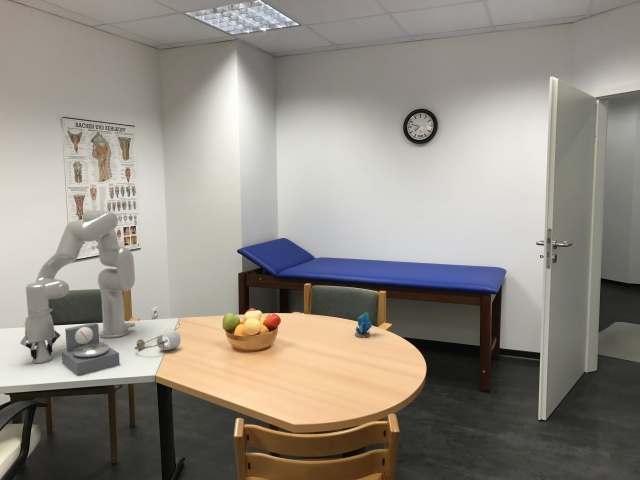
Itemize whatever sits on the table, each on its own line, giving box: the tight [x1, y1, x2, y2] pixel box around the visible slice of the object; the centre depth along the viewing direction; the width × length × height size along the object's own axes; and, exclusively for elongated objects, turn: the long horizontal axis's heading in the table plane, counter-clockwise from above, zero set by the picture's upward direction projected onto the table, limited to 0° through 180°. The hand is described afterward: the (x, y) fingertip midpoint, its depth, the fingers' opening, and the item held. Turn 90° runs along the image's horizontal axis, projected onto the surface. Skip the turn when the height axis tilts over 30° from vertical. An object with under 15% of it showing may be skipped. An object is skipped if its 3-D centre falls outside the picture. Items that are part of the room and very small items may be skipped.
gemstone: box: [354, 311, 373, 339], centre depth 240 cm, size 7×9×12 cm
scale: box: [61, 322, 121, 377], centre depth 205 cm, size 16×18×14 cm
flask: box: [31, 340, 53, 364], centre depth 208 cm, size 7×7×10 cm
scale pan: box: [73, 342, 110, 357], centre depth 204 cm, size 13×13×1 cm
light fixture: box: [134, 321, 181, 351], centre depth 232 cm, size 9×18×40 cm
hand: (42, 355), depth 209 cm, fingers closed on flask, 5 cm apart
